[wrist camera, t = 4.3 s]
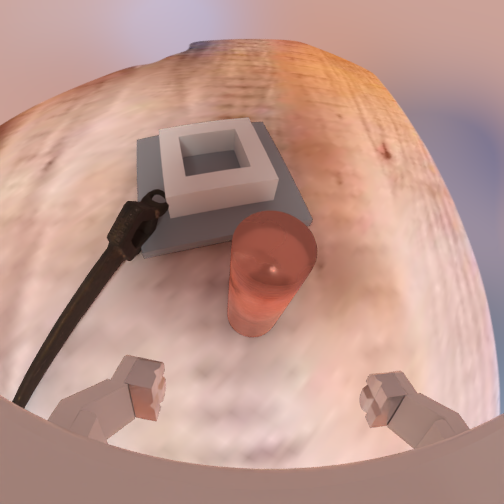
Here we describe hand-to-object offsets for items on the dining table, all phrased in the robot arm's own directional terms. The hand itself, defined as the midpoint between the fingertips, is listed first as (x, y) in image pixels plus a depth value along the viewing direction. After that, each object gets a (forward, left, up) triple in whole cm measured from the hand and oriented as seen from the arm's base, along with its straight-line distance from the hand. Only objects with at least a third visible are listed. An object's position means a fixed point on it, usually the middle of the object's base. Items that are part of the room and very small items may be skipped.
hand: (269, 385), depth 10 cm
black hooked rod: (-15, +9, -11) cm, 21 cm away
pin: (+2, +6, -11) cm, 13 cm away
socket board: (+2, +21, -11) cm, 24 cm away
